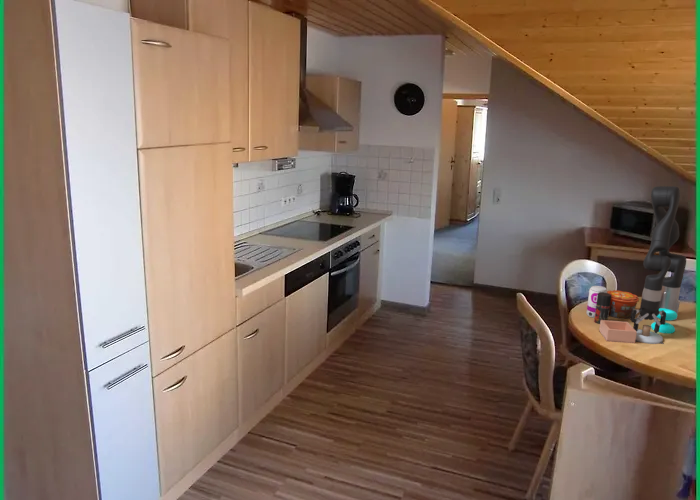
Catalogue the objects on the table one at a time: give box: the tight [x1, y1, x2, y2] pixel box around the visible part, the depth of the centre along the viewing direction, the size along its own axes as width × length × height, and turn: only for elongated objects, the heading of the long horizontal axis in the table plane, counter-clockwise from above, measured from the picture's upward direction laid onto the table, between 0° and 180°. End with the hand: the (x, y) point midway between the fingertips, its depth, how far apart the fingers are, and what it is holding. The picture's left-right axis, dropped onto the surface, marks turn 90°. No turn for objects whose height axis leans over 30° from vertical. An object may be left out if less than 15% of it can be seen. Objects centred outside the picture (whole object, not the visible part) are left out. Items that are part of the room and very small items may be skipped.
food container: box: [607, 289, 640, 320], centre depth 281 cm, size 16×16×11 cm
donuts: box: [650, 308, 678, 334], centre depth 261 cm, size 10×10×10 cm
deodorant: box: [593, 292, 611, 325], centre depth 268 cm, size 6×6×15 cm
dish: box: [598, 319, 637, 344], centre depth 252 cm, size 12×12×6 cm
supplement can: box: [586, 285, 608, 319], centre depth 278 cm, size 8×8×15 cm
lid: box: [635, 324, 664, 345], centre depth 252 cm, size 14×14×6 cm
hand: (645, 331), depth 252 cm, fingers open, 8 cm apart
